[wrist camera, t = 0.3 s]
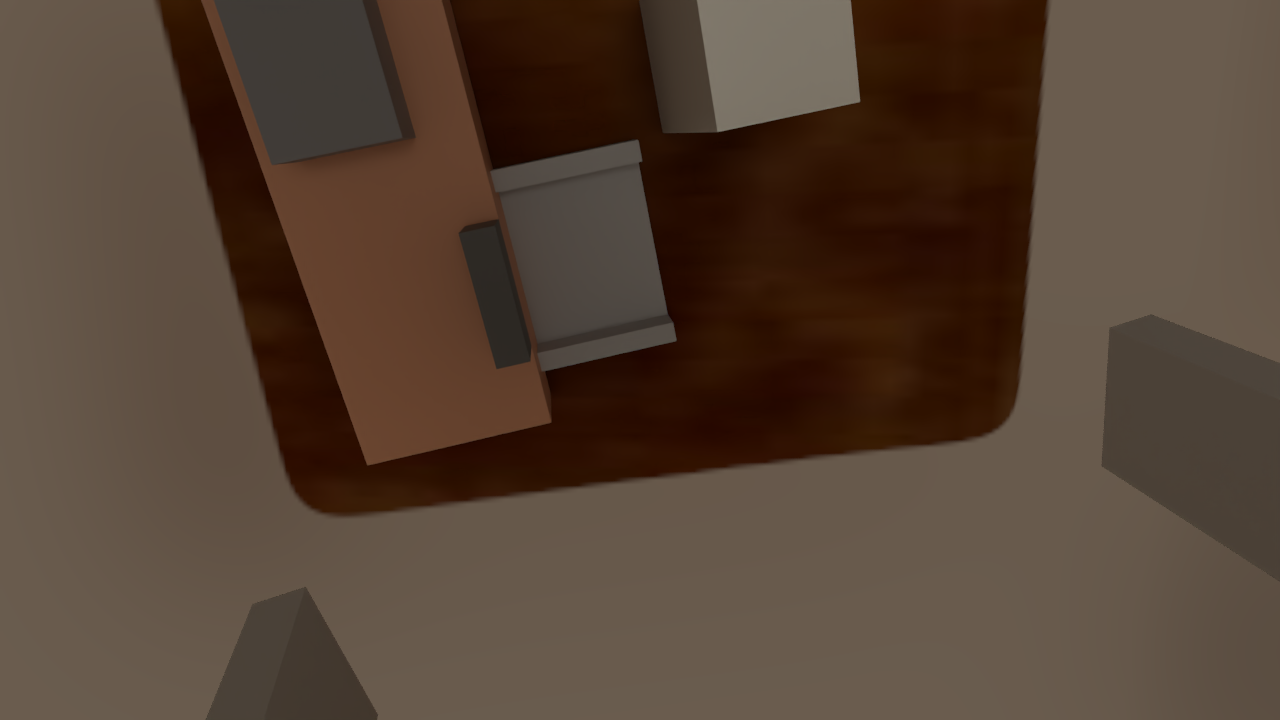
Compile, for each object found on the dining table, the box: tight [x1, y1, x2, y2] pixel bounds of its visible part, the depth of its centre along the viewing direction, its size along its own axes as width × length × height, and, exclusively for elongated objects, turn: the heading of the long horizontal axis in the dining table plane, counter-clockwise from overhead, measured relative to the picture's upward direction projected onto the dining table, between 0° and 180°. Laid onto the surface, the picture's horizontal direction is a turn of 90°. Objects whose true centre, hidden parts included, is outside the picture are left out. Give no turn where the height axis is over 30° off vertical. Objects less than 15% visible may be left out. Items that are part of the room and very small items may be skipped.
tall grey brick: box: [639, 0, 860, 133], centre depth 29 cm, size 6×5×12 cm
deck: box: [201, 0, 677, 465], centre depth 32 cm, size 22×16×7 cm
